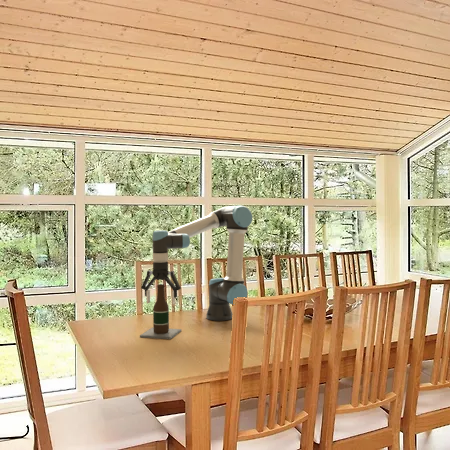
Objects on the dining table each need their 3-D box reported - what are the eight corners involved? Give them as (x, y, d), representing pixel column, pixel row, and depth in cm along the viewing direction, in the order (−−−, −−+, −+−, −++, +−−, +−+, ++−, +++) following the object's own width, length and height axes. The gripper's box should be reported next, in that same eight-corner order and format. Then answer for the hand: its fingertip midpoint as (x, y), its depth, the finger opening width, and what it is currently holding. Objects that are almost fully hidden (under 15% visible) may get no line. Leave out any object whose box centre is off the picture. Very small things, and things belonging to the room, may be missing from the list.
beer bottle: (154, 334, 235) (153, 286, 234) (152, 330, 243) (152, 283, 242) (170, 333, 237) (169, 285, 236) (167, 329, 245) (167, 283, 244)
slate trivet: (181, 331, 246) (181, 329, 246) (170, 339, 230) (170, 337, 230) (152, 329, 249) (152, 327, 249) (139, 337, 234) (139, 335, 234)
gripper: (186, 260, 239) (187, 302, 240) (140, 260, 245) (140, 301, 246) (181, 262, 232) (182, 305, 233) (134, 261, 238) (134, 303, 239)
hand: (161, 303), depth 239 cm, fingers open, 13 cm apart
